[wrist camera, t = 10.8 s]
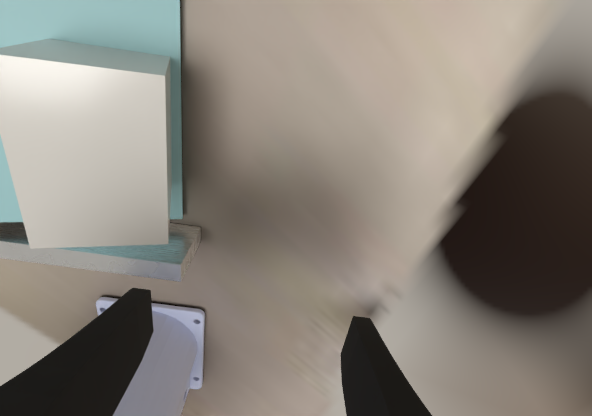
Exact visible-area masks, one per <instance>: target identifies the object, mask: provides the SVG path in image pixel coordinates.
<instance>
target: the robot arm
mask: <svg viewBox="0 0 592 416" xmlns="http://www.w3.org/2000/svg"><path fill="white" fill-rule="evenodd" d="M96 308H97V313H98V317H96V318H95V319H94V320H93V321H91V322H90V323H89V324H88V325H86V326H85V327H84V328H83V329H81V330H80V331H79V332H78V333H76V334H75V335H74V336H72V337H71V338H70V339H68V340H67V341H66V342H64V343H63V344H62V345H60V346H59V347H57V348H56V349H55V350H53V351H52V352H51V353H50V354H48V355H47V356H45V357H44V358H42V359H41V360H40V361H38V362H37V363H35V364H34V365H32V366H31V367H29V368H28V369H26V370H25V371H23V372H22V373H20V374H19V375H17V376H16V377H14V378H13V379H11V380H9V381H8V382H6V383H5V384H3V385H2V386H0V416H181V414H182V410H183V407H184V404H185V401H186V398H187V395H188V392H189V389H200V388H201V387H202V384H203V360H204V326H205V313H204V311H202V310H201V309H195V308H187V307H180V306H172V305H164V304H156V303H151V291H150V290H145V289H138V288H132V289H130V290H129V291H128V292H127V293H125V294H124V295H123V296H122V297H121V298H119V299H116V298H108V297H100V298H99V299H98V300H97V302H96ZM196 319H198V320H196ZM341 373H342V387H343V394H344V400H345V407H346V414H347V416H432V415H431V414H430V412H429V411H428V410H427V408H426V407H425V405H424V404H423V403H422V401H421V400H420V398H419V397H418V396H417V394H416V393H415V391H414V390H413V388H412V387H411V385H410V384H409V382H408V381H407V379H406V378H405V376H404V374H403V373H402V371H401V370H400V368H399V367H398V365H397V363H396V362H395V360H394V359H393V357H392V355H391V354H390V352H389V350H388V349H387V347H386V345H385V343H384V342H383V340H382V338H381V337H380V335H379V333H378V331H377V329H376V328H375V326H374V324H373V322H372V321H371V319H370V318H364V317H356V316H353V318H352V321H351V324H350V327H349V330H348V334H347V337H346V340H345V343H344V346H343V349H342V352H341Z"/></svg>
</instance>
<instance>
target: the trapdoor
mask: <svg viewBox="0 0 592 416" xmlns="http://www.w3.org/2000/svg"><path fill="white" fill-rule="evenodd" d="M44 39H55V40H62V41H69V42H76V43H82V44H89V45H96V46H103V47H109V48H116V49H123V50H130V51H137V52H143V53H150V54H157V55H164V56H170V73H171V154H172V191H171V208H170V219H183V208H182V128H181V49H180V0H0V48H1V47H7V46H12V45H17V44H22V43H28V42H33V41H38V40H44ZM0 222H23V219H22V215H21V211H20V207H19V204H18V200H17V196H16V192H15V188H14V185H13V181H12V177H11V173H10V169H9V166H8V162H7V158H6V154H5V150H4V147H3V143H2V139H1V135H0Z"/></svg>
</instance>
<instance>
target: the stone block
mask: <svg viewBox="0 0 592 416" xmlns="http://www.w3.org/2000/svg"><path fill="white" fill-rule="evenodd" d="M0 135H1V139H2V143H3V147H4V150H5V154H6V158H7V162H8V166H9V169H10V173H11V177H12V181H13V185H14V188H15V192H16V196H17V200H18V204H19V207H20V211H21V215H22V219H23V223H24V226H25V230H26V234H27V238H28V242H29V245H30V249H34V248H66V247H97V246H128V245H159V244H168V242H169V225H170V208H171V191H172V154H171V73H170V56H164V55H157V54H150V53H143V52H137V51H130V50H123V49H116V48H109V47H103V46H96V45H89V44H82V43H76V42H69V41H62V40H55V39H44V40H38V41H33V42H28V43H22V44H17V45H12V46H7V47H1V48H0Z"/></svg>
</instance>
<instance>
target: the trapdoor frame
mask: <svg viewBox="0 0 592 416" xmlns="http://www.w3.org/2000/svg"><path fill="white" fill-rule="evenodd" d="M200 241H201V227H196V226H189V225H182V224H175V223H170V225H169V242H168V244H159V245H128V246H97V247H66V248H34V249H30V245H29V242H28V238H27V234H26V230H25V226H24V223H23V222H0V258H3V259H11V260H18V261H26V262H34V263H41V264H49V265H57V266H64V267H72V268H80V269H87V270H95V271H103V272H110V273H118V274H126V275H133V276H141V277H149V278H157V279H164V280H172V281H180V282H181V280H182V278H183V276H184V274H185V272H186V270H187V268H188V266H189V264H190V262H191V260H192V258H193V256H194V254H195V252H196V250H197V248H198V246H199V244H200Z"/></svg>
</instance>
